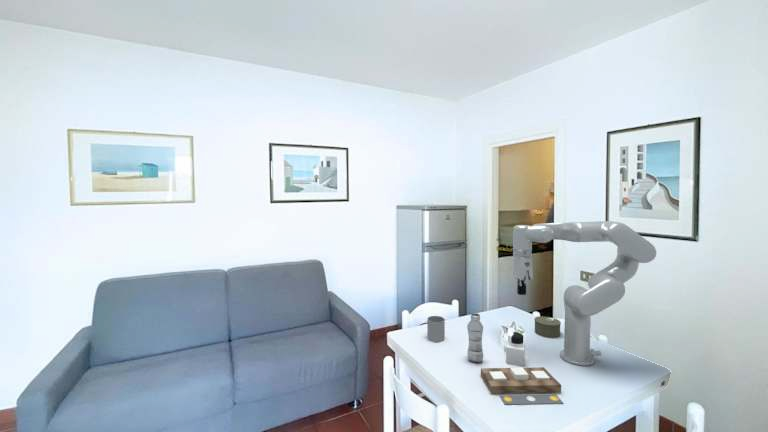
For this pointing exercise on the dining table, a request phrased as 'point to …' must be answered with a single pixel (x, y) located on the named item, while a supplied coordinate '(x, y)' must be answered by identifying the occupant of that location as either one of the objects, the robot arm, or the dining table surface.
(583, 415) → the dining table surface
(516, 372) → the button middle
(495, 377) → the button
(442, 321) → the cup
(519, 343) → the medicine bottle
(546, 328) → the can
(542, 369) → the button board
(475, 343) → the plastic bottle
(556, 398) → the pattern card
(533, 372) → the button
